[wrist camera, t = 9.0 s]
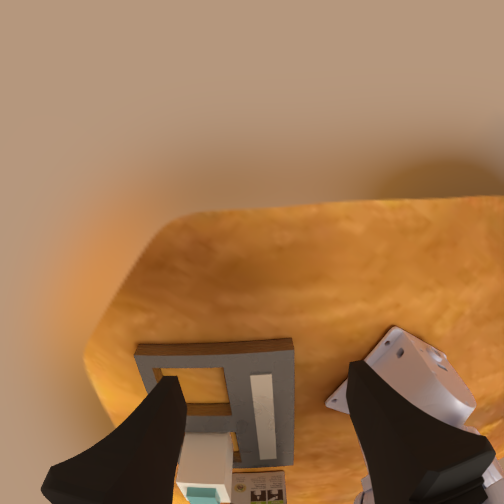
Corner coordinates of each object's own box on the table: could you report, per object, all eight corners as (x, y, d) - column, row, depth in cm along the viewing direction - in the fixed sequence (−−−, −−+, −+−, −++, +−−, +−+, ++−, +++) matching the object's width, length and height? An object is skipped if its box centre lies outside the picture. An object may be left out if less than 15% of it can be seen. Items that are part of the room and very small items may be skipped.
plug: (187, 423, 26) (174, 491, 19) (228, 423, 26) (223, 494, 19) (195, 446, 28) (185, 509, 20) (233, 446, 28) (230, 511, 20)
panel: (139, 344, 23) (132, 356, 22) (292, 338, 23) (294, 351, 21) (181, 456, 29) (179, 468, 27) (292, 454, 28) (293, 466, 27)
